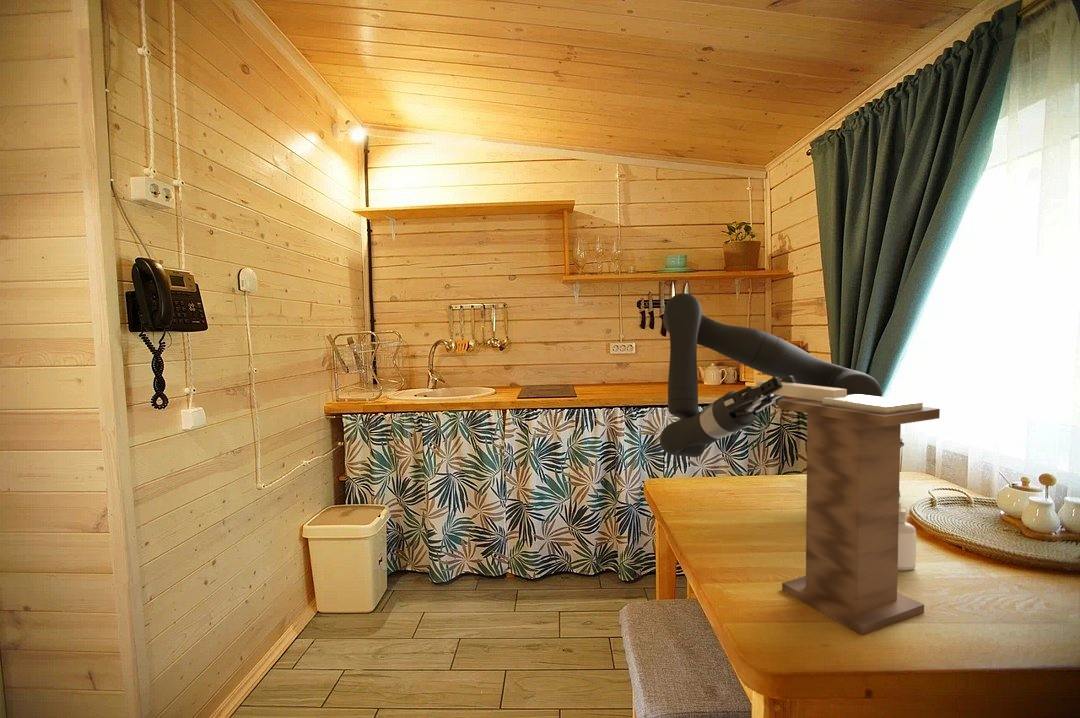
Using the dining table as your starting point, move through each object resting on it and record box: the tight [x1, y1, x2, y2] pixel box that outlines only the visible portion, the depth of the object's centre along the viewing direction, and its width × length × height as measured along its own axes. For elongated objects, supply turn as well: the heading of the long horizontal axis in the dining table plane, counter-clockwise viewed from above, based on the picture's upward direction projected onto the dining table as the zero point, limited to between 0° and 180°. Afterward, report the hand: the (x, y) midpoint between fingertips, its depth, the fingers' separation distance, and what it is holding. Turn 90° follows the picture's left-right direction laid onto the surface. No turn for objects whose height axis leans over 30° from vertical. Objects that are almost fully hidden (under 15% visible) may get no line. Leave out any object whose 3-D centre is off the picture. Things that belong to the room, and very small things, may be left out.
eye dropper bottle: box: [898, 501, 917, 571], centre depth 93 cm, size 4×6×12 cm
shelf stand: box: [777, 397, 941, 636], centre depth 82 cm, size 18×14×32 cm
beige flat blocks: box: [755, 379, 924, 414], centre depth 85 cm, size 26×8×2 cm, turn 23°
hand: (786, 381), depth 92 cm, fingers closed on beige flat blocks, 3 cm apart
